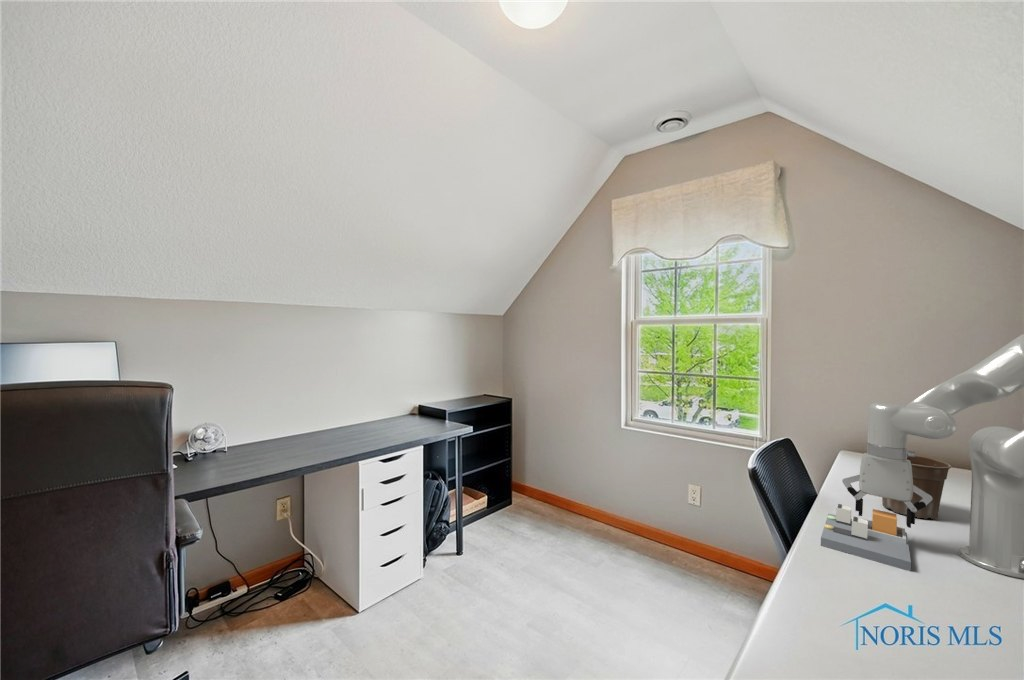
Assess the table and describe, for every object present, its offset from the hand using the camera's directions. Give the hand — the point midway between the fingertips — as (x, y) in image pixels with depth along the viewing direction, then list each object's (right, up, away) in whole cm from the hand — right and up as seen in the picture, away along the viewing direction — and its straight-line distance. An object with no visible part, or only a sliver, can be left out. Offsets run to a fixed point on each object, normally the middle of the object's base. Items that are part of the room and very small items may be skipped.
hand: (883, 519), depth 106 cm
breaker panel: (-6, -5, -1) cm, 8 cm away
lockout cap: (0, -3, 0) cm, 3 cm away
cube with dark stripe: (-8, -3, -2) cm, 9 cm away
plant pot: (+26, -6, +20) cm, 33 cm away
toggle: (-5, -3, +6) cm, 9 cm away
